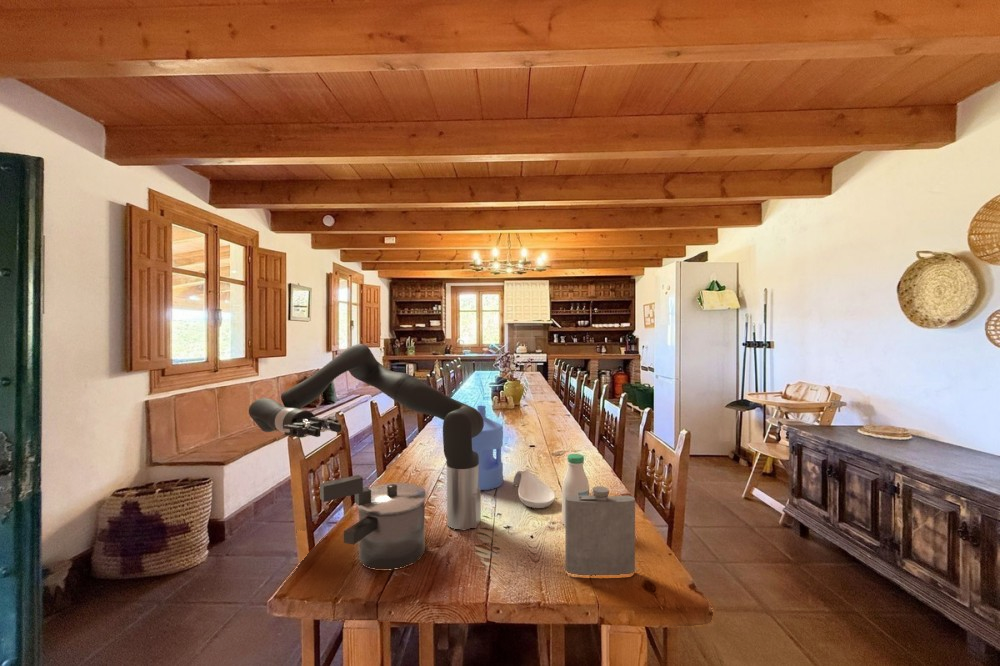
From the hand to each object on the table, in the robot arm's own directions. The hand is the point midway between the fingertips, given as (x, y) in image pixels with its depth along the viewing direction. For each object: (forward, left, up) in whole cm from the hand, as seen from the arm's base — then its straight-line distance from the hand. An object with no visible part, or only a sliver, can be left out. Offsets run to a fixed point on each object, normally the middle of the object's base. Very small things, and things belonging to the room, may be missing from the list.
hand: (329, 430), depth 113 cm
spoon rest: (-47, -40, -30) cm, 69 cm away
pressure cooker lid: (-15, +4, -17) cm, 23 cm away
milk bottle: (-63, -23, -30) cm, 73 cm away
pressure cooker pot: (-17, +5, -30) cm, 35 cm away
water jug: (-29, -50, -30) cm, 65 cm away
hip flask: (-69, +1, -30) cm, 75 cm away
